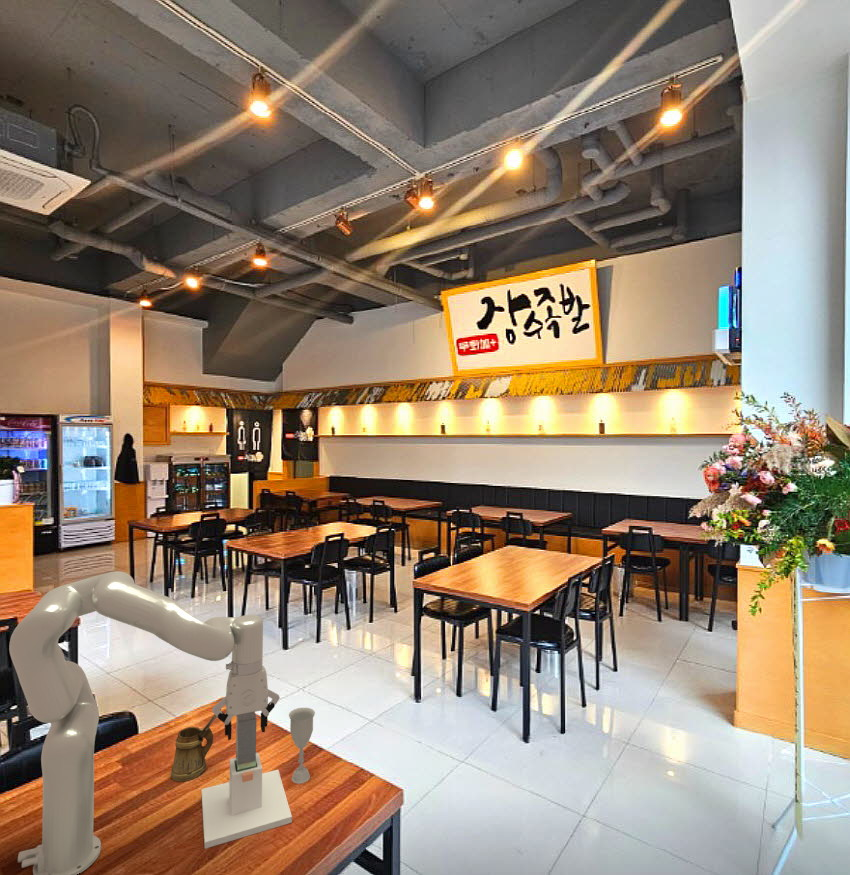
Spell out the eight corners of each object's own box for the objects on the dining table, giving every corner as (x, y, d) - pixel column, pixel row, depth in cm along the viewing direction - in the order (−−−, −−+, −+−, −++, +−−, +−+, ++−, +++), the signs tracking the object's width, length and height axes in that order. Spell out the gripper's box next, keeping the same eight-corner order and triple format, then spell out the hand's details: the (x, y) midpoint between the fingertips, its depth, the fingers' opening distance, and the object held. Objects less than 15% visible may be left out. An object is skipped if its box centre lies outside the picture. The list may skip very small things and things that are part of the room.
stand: (204, 848, 120) (205, 799, 120) (201, 794, 138) (202, 751, 138) (291, 822, 128) (292, 776, 128) (278, 774, 146) (278, 734, 146)
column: (237, 786, 130) (238, 722, 130) (235, 775, 134) (236, 714, 134) (255, 781, 132) (256, 718, 132) (253, 771, 136) (254, 710, 136)
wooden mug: (214, 781, 143) (215, 716, 143) (165, 782, 143) (166, 717, 143) (225, 761, 152) (226, 700, 152) (179, 761, 152) (180, 700, 152)
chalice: (317, 770, 148) (318, 708, 148) (309, 786, 142) (310, 721, 142) (292, 768, 149) (293, 706, 149) (283, 784, 142) (284, 719, 142)
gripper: (211, 677, 126) (210, 749, 126) (284, 665, 134) (283, 733, 134) (210, 665, 133) (209, 733, 133) (279, 654, 140) (278, 718, 140)
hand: (246, 733), depth 133 cm, fingers open, 7 cm apart
